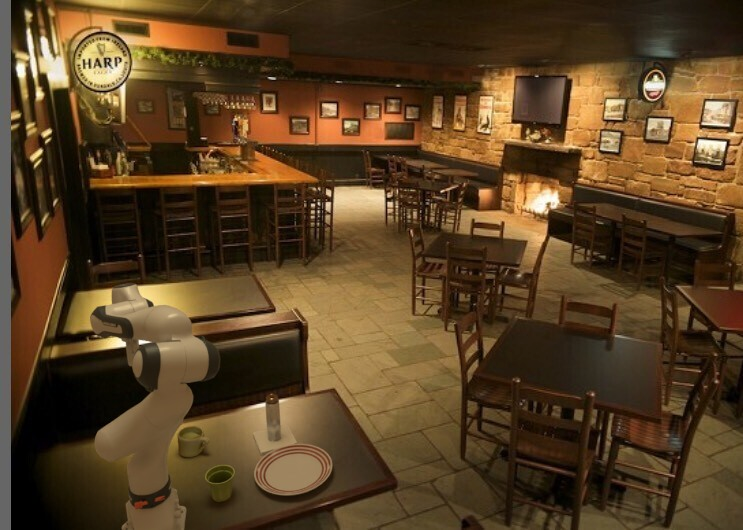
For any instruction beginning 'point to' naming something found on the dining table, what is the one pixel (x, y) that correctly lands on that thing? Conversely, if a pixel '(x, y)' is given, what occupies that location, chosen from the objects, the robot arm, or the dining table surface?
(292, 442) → the serving tile
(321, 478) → the dinner plate
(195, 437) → the mug
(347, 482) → the dining table surface
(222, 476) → the plant pot
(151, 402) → the robot arm
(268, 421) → the pepper mill
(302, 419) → the dining table surface
